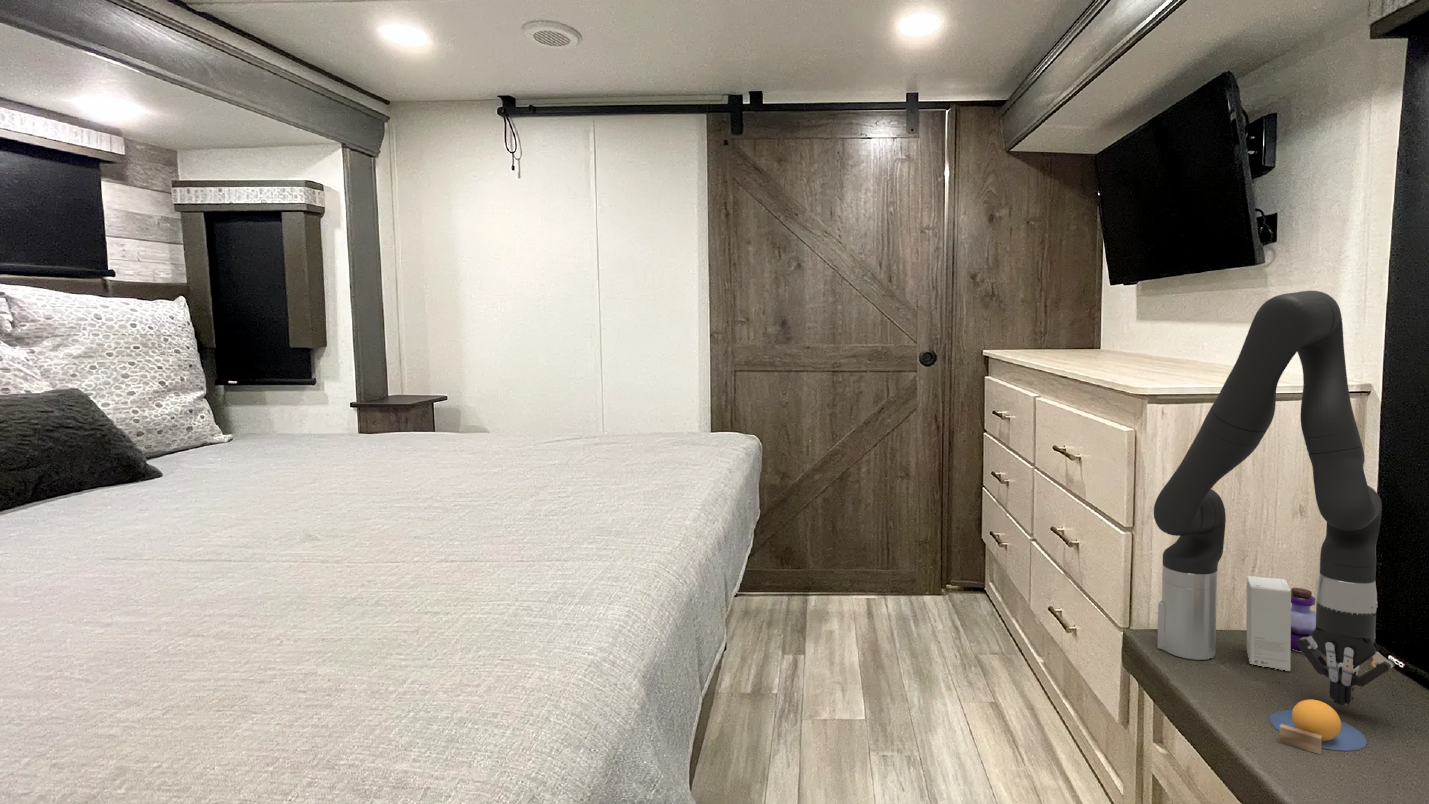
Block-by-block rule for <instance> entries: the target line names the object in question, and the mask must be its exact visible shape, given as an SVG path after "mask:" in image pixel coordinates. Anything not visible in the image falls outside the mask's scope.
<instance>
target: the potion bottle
mask: <svg viewBox="0 0 1429 804" xmlns="http://www.w3.org/2000/svg"><path fill="white" fill-rule="evenodd" d="M1290 590H1291V649H1294V650H1297V651H1301V649H1300V648H1299V647H1298V645H1297V644H1296V642H1297V640H1299V639H1301V638H1303V637H1309V636H1312V632H1313V631H1314V630H1315V628H1316V610H1315V611H1314V610H1311V607H1312V606H1316V597H1314V596H1313V595H1312V594H1313V592H1312V591H1311V590H1309V589H1306V588H1301V587H1292V588H1290ZM1317 646H1318V645H1317ZM1318 647H1319V646H1318Z"/></svg>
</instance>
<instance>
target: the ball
mask: <svg viewBox="0 0 1429 804" xmlns="http://www.w3.org/2000/svg"><path fill="white" fill-rule="evenodd" d="M1292 710H1293V711H1292V719H1293V722H1294V724H1295V726H1296V728H1297V729H1301V730H1304V731H1308V732H1311V733H1314V734H1318V735H1321V736H1322V741H1328V740H1331V739H1333V738H1335V737H1336V736H1337V735H1338V734H1339V732H1340V730H1341V721H1342V720H1341V718H1340V716H1339V714H1338V713H1337V711H1336V710H1335V709H1334V708H1333V707H1332V706H1330V704H1327V703H1326V702H1323V701H1321V700H1318V699H1317V700H1316V699H1303V700H1300V701H1299V702H1297V703H1296V704H1295V706H1294V707H1293V709H1292Z"/></svg>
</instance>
